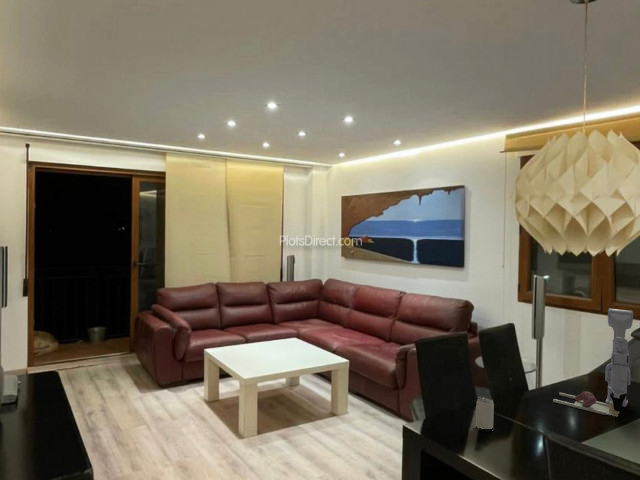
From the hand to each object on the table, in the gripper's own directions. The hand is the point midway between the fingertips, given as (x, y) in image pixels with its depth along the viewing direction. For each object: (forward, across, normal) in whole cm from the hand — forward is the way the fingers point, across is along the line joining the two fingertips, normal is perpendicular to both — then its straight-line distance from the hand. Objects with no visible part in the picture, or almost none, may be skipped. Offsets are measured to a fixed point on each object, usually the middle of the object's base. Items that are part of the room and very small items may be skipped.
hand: (617, 409), depth 194 cm
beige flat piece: (+2, 0, -8) cm, 8 cm away
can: (+2, +59, -38) cm, 70 cm away
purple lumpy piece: (+1, 0, -12) cm, 12 cm away
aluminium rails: (+2, 0, -14) cm, 14 cm away
